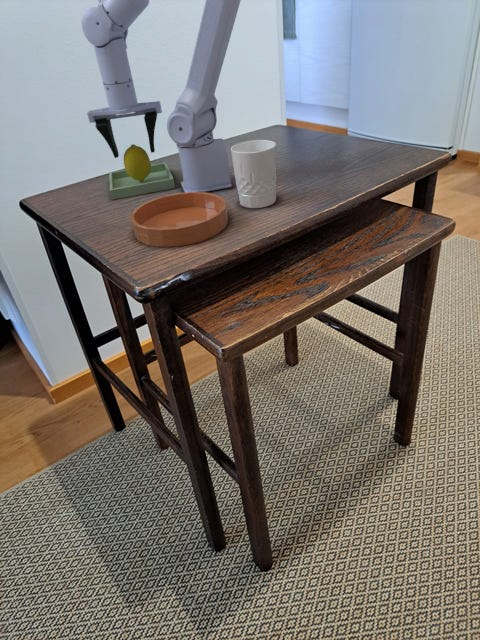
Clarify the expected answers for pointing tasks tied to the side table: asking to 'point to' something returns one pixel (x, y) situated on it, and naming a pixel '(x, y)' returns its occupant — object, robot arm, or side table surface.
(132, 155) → the lemon
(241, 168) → the white cup
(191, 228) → the pan
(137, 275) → the side table surface
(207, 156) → the robot arm
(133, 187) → the tray
